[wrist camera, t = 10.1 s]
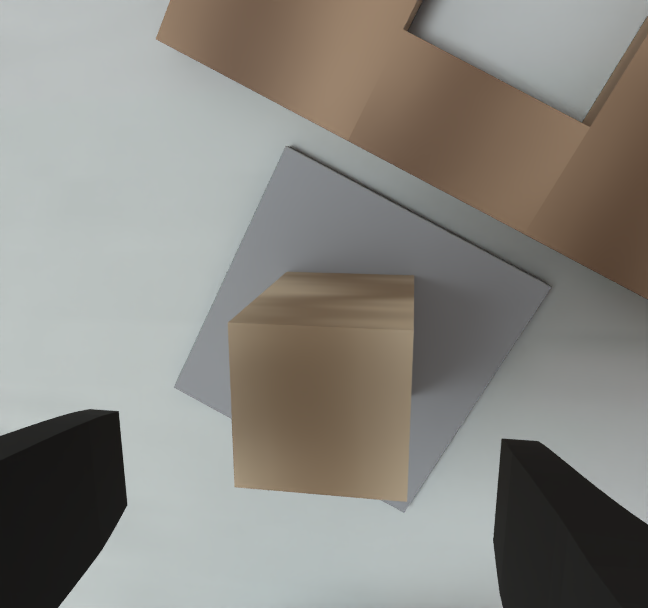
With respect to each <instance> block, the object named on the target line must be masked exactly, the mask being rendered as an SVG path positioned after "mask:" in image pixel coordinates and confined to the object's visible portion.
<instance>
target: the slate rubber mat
mask: <svg viewBox="0 0 648 608" xmlns="http://www.w3.org/2000/svg"><path fill="white" fill-rule="evenodd" d="M286 272H315V273H351V274H386V275H414V337H413V363H412V389H411V415H410V441H409V467H408V493H407V502H402V501H390V500H382V501H384V502H386V503H387V504H389V505H391V506H393V507H395V508H397V509H398V510H400V511H402V512H405V510H406V509H407V507H408V506H409V504H410V503H411V501H412V500H413V498H414V497H415V495H416V494H417V492H418V491H419V489H420V487H421V486H422V484H423V483H424V481H425V480H426V478H427V477H428V475H429V474H430V472H431V471H432V469H433V468H434V466H435V465H436V463H437V461H438V460H439V458H440V457H441V455H442V454H443V452H444V451H445V449H446V448H447V446H448V445H449V443H450V442H451V440H452V439H453V437H454V435H455V434H456V432H457V431H458V429H459V428H460V426H461V425H462V423H463V422H464V420H465V419H466V417H467V416H468V414H469V413H470V411H471V410H472V408H473V406H474V405H475V403H476V402H477V400H478V399H479V397H480V396H481V394H482V393H483V391H484V390H485V388H486V387H487V385H488V384H489V382H490V380H491V379H492V377H493V376H494V374H495V373H496V371H497V370H498V368H499V367H500V365H501V364H502V362H503V361H504V359H505V358H506V356H507V354H508V353H509V351H510V350H511V348H512V347H513V345H514V344H515V342H516V341H517V339H518V338H519V336H520V335H521V333H522V332H523V330H524V328H525V327H526V325H527V324H528V322H529V321H530V319H531V318H532V316H533V315H534V313H535V312H536V310H537V309H538V307H539V306H540V304H541V302H542V301H543V299H544V298H545V296H546V295H547V293H548V292H549V290H550V289H551V286H550V285H549V284H547V283H545V282H543V281H541V280H539V279H537V278H535V277H534V276H532V275H530V274H528V273H526V272H524V271H522V270H520V269H518V268H517V267H515V266H513V265H511V264H509V263H507V262H505V261H503V260H501V259H500V258H498V257H496V256H494V255H492V254H490V253H488V252H486V251H485V250H483V249H481V248H479V247H477V246H475V245H473V244H471V243H469V242H468V241H466V240H464V239H462V238H460V237H458V236H456V235H454V234H453V233H451V232H449V231H447V230H445V229H443V228H441V227H439V226H437V225H436V224H434V223H432V222H430V221H428V220H426V219H424V218H422V217H421V216H419V215H417V214H415V213H413V212H411V211H409V210H407V209H405V208H404V207H402V206H400V205H398V204H396V203H394V202H392V201H390V200H389V199H387V198H385V197H383V196H381V195H379V194H377V193H375V192H373V191H372V190H370V189H368V188H366V187H364V186H362V185H360V184H358V183H356V182H355V181H353V180H351V179H349V178H347V177H345V176H343V175H341V174H340V173H338V172H336V171H334V170H332V169H330V168H328V167H326V166H324V165H323V164H321V163H319V162H317V161H315V160H313V159H311V158H309V157H308V156H306V155H304V154H302V153H300V152H298V151H296V150H294V149H292V148H291V147H289V146H286V147H285V149H284V151H283V153H282V155H281V157H280V160H279V162H278V164H277V166H276V168H275V170H274V172H273V175H272V177H271V179H270V181H269V183H268V185H267V188H266V190H265V192H264V194H263V196H262V198H261V200H260V203H259V205H258V207H257V209H256V211H255V213H254V216H253V218H252V220H251V222H250V224H249V226H248V228H247V231H246V233H245V235H244V237H243V239H242V241H241V244H240V246H239V248H238V250H237V252H236V254H235V256H234V259H233V261H232V263H231V265H230V267H229V269H228V272H227V274H226V276H225V278H224V280H223V282H222V284H221V287H220V289H219V291H218V293H217V295H216V297H215V300H214V302H213V304H212V306H211V308H210V310H209V313H208V315H207V317H206V319H205V321H204V323H203V325H202V328H201V330H200V332H199V334H198V336H197V338H196V341H195V343H194V345H193V347H192V349H191V351H190V353H189V356H188V358H187V360H186V362H185V364H184V366H183V369H182V371H181V373H180V375H179V377H178V379H177V381H176V384H175V386H174V388H176V389H178V390H180V391H182V392H183V393H185V394H187V395H189V396H191V397H193V398H194V399H196V400H198V401H200V402H202V403H204V404H206V405H207V406H209V407H211V408H213V409H215V410H217V411H218V412H220V413H222V414H224V415H226V416H228V417H229V418H231V419H232V413H231V390H230V366H229V343H228V322H229V321H230V320H231V319H232V318H234V317H235V316H236V315H237V314H238V313H239V312H241V311H242V310H243V309H244V308H245V307H246V306H248V305H249V304H250V303H251V302H252V301H253V300H255V299H256V298H257V297H258V296H259V295H260V294H261V293H263V292H264V291H265V290H266V289H267V288H268V287H270V286H271V285H272V284H273V283H274V282H275V281H277V280H278V279H279V278H280V277H281V276H282V275H284V274H285V273H286Z"/></svg>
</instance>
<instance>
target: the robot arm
mask: <svg viewBox="0 0 648 608" xmlns="http://www.w3.org/2000/svg"><path fill="white" fill-rule="evenodd" d="M126 507H127V496H126V485H125V475H124V464H123V453H122V443H121V432H120V421H119V411H107V410H93V409H89V410H83V411H78V412H74V413H70V414H66V415H63V416H59V417H56V418H53V419H50V420H46V421H43V422H40V423H37V424H34V425H31V426H28V427H25V428H22V429H20V430H17V431H14V432H11V433H8V434H5V435H2V436H0V608H58V607H59V606H60V604H61V603H62V602H63V601H64V599H65V598H66V597H67V595H68V594H69V593H70V592H71V590H72V589H73V588H74V586H75V585H76V584H77V582H78V581H79V580H80V579H81V577H82V576H83V575H84V573H85V572H86V571H87V569H88V568H89V567H90V565H91V564H92V563H93V561H94V560H95V559H96V557H97V556H98V555H99V553H100V552H101V550H102V549H103V547H104V546H105V544H106V542H107V541H108V539H109V537H110V536H111V534H112V532H113V530H114V529H115V527H116V525H117V523H118V521H119V519H120V518H121V516H122V514H123V512H124V510H125V508H126ZM493 543H494V551H495V560H496V568H497V576H498V584H499V591H500V597H501V601H502V605H503V608H648V524H646V523H645V522H643V521H642V520H640V519H639V518H637V517H636V516H635V515H633V514H632V513H630V512H629V511H628V510H626V509H625V508H623V507H622V506H621V505H619V504H618V503H617V502H615V501H614V500H613V499H611V498H610V497H609V496H607V495H606V494H605V493H604V492H602V491H601V490H600V489H598V488H597V487H596V486H595V485H593V484H592V483H591V482H589V481H588V480H587V479H586V478H584V477H583V476H582V475H581V474H580V473H578V472H577V471H576V470H575V469H573V468H572V467H571V466H570V465H568V464H567V463H566V462H565V461H564V460H562V459H561V458H560V457H559V456H557V455H556V454H555V453H554V452H552V451H551V450H550V449H549V448H547V447H546V446H545V445H543V444H542V443H540V442H539V441H529V440H515V439H502V441H501V453H500V465H499V477H498V490H497V502H496V514H495V526H494V538H493Z"/></svg>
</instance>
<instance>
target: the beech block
mask: <svg viewBox="0 0 648 608" xmlns="http://www.w3.org/2000/svg"><path fill="white" fill-rule="evenodd" d="M413 337H414V275H386V274H351V273H315V272H286V273H285V274H284V275H282V276H281V277H280V278H279V279H278V280H277V281H275V282H274V283H273V284H272V285H271V286H270V287H268V288H267V289H266V290H265V291H264V292H263V293H261V294H260V295H259V296H258V297H257V298H256V299H255V300H253V301H252V302H251V303H250V304H249V305H248V306H246V307H245V308H244V309H243V310H242V311H241V312H239V313H238V314H237V315H236V316H235V317H234V318H232V319H231V320H230V321H229V322H228V343H229V366H230V390H231V413H232V436H233V460H234V483H235V487H239V488H251V489H263V490H274V491H286V492H298V493H309V494H321V495H332V496H344V497H356V498H367V499H379V500H390V501H402V502H407V493H408V467H409V441H410V415H411V389H412V363H413Z"/></svg>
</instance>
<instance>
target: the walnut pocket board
mask: <svg viewBox="0 0 648 608" xmlns="http://www.w3.org/2000/svg"><path fill="white" fill-rule="evenodd" d="M422 1H423V0H170V2H169V5H168V8H167V11H166V13H165V16H164V19H163V21H162V24H161V27H160V29H159V32H158V35H157V37H156V39H157V40H158V41H160V42H162V43H164V44H166V45H168V46H170V47H172V48H174V49H175V50H177V51H179V52H181V53H183V54H185V55H187V56H189V57H191V58H192V59H194V60H196V61H198V62H200V63H202V64H204V65H206V66H208V67H209V68H211V69H213V70H215V71H217V72H219V73H221V74H223V75H225V76H226V77H228V78H230V79H232V80H234V81H236V82H238V83H240V84H242V85H243V86H245V87H247V88H249V89H251V90H253V91H255V92H257V93H259V94H260V95H262V96H264V97H266V98H268V99H270V100H272V101H274V102H276V103H277V104H279V105H281V106H283V107H285V108H287V109H289V110H291V111H293V112H294V113H296V114H298V115H300V116H302V117H304V118H306V119H308V120H310V121H311V122H313V123H315V124H317V125H319V126H321V127H323V128H325V129H327V130H328V131H330V132H332V133H334V134H336V135H338V136H340V137H342V138H344V139H345V140H347V141H349V142H351V143H353V144H355V145H357V146H359V147H361V148H362V149H364V150H366V151H368V152H370V153H372V154H374V155H376V156H378V157H379V158H381V159H383V160H385V161H387V162H389V163H391V164H393V165H395V166H396V167H398V168H400V169H402V170H404V171H406V172H408V173H410V174H412V175H413V176H415V177H417V178H419V179H421V180H423V181H425V182H427V183H429V184H430V185H432V186H434V187H436V188H438V189H440V190H442V191H444V192H446V193H447V194H449V195H451V196H453V197H455V198H457V199H459V200H461V201H463V202H464V203H466V204H468V205H470V206H472V207H474V208H476V209H478V210H480V211H481V212H483V213H485V214H487V215H489V216H491V217H493V218H495V219H497V220H498V221H500V222H502V223H504V224H506V225H508V226H510V227H512V228H514V229H515V230H517V231H519V232H521V233H523V234H525V235H527V236H529V237H531V238H532V239H534V240H536V241H538V242H540V243H542V244H544V245H546V246H548V247H549V248H551V249H553V250H555V251H557V252H559V253H561V254H563V255H565V256H566V257H568V258H570V259H572V260H574V261H576V262H578V263H580V264H582V265H583V266H585V267H587V268H589V269H591V270H593V271H595V272H597V273H599V274H600V275H602V276H604V277H606V278H608V279H610V280H612V281H614V282H616V283H617V284H619V285H621V286H623V287H625V288H627V289H629V290H631V291H633V292H634V293H636V294H638V295H640V296H642V297H644V298H646V299H648V16H647V18H646V19H645V21H644V23H643V24H642V26H641V27H640V29H639V31H638V32H637V34H636V36H635V37H634V39H633V41H632V42H631V44H630V45H629V47H628V49H627V50H626V52H625V54H624V55H623V57H622V58H621V60H620V62H619V63H618V65H617V67H616V68H615V70H614V71H613V73H612V75H611V76H610V78H609V80H608V81H607V83H606V84H605V86H604V88H603V89H602V91H601V93H600V94H599V96H598V98H597V99H596V101H595V102H594V104H593V106H592V107H591V109H590V111H589V112H588V114H587V115H586V117H585V119H584V120H583V122H582V123H581V122H579V121H577V120H575V119H573V118H572V117H570V116H568V115H566V114H564V113H562V112H560V111H558V110H556V109H554V108H552V107H550V106H549V105H547V104H545V103H543V102H541V101H539V100H537V99H535V98H533V97H531V96H529V95H528V94H526V93H524V92H522V91H520V90H518V89H516V88H514V87H512V86H510V85H508V84H507V83H505V82H503V81H501V80H499V79H497V78H495V77H493V76H491V75H489V74H487V73H486V72H484V71H482V70H480V69H478V68H476V67H474V66H472V65H470V64H468V63H466V62H464V61H463V60H461V59H459V58H457V57H455V56H453V55H451V54H449V53H447V52H445V51H443V50H442V49H440V48H438V47H436V46H434V45H432V44H430V43H428V42H426V41H424V40H422V39H421V38H419V37H417V36H415V35H413V34H411V33H409V32H407V31H408V29H409V27H410V25H411V23H412V21H413V19H414V17H415V15H416V13H417V11H418V9H419V7H420V5H421V3H422Z"/></svg>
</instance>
